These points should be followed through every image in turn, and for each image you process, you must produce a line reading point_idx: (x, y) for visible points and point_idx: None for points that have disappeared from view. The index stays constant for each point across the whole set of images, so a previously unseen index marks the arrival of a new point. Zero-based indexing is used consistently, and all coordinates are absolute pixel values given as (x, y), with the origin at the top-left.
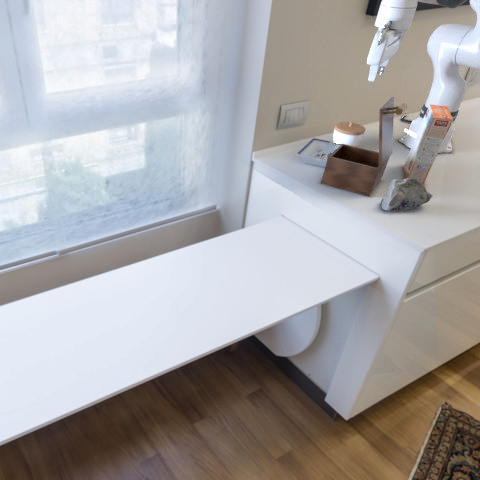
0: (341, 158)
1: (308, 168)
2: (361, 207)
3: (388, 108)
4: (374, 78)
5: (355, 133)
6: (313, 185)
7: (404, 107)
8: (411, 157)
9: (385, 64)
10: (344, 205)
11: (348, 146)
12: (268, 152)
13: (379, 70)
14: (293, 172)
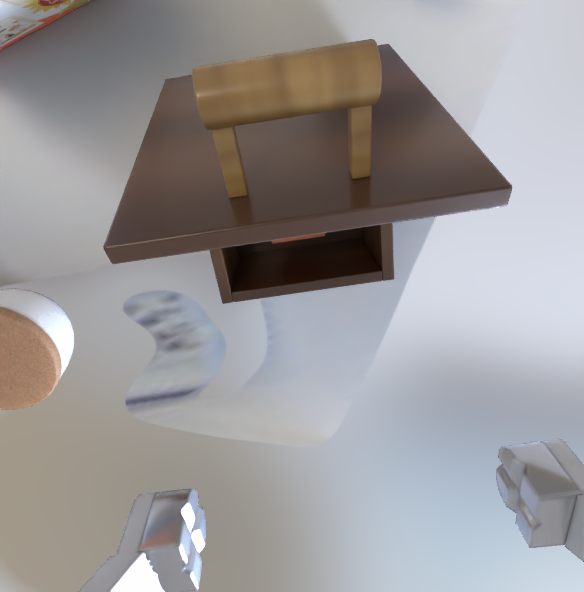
0: (234, 263)
1: (290, 319)
2: (463, 42)
3: (298, 192)
4: (577, 460)
5: (26, 322)
6: (398, 250)
7: (291, 60)
8: (9, 12)
9: (124, 589)
10: (482, 101)
11: (227, 272)
12: (273, 442)
13: (191, 541)
14: (350, 335)
